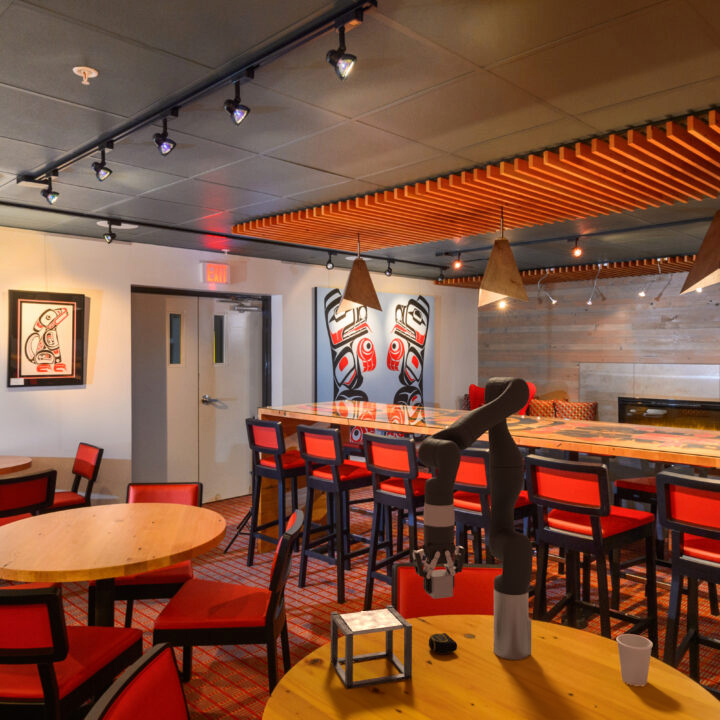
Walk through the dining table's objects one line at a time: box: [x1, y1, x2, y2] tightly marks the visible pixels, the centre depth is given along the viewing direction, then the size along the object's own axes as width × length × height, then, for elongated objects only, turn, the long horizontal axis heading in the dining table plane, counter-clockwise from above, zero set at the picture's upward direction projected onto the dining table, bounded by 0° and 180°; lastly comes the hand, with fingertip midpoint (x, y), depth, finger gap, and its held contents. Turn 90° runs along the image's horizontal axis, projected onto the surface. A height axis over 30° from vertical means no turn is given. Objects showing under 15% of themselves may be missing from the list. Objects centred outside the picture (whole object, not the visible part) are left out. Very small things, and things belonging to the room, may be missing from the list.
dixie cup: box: [615, 633, 654, 687], centre depth 157 cm, size 8×8×10 cm
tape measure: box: [428, 632, 458, 655], centre depth 174 cm, size 7×7×4 cm
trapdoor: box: [338, 608, 404, 636], centre depth 162 cm, size 13×12×1 cm
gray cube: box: [424, 569, 454, 600], centre depth 154 cm, size 5×5×5 cm
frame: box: [330, 604, 413, 690], centre depth 162 cm, size 17×14×13 cm
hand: (438, 591), depth 154 cm, fingers closed on gray cube, 5 cm apart
